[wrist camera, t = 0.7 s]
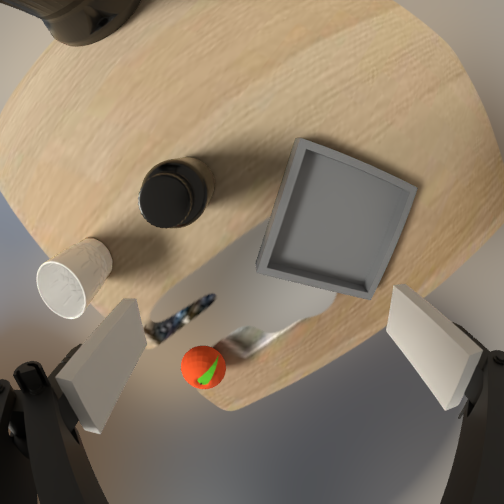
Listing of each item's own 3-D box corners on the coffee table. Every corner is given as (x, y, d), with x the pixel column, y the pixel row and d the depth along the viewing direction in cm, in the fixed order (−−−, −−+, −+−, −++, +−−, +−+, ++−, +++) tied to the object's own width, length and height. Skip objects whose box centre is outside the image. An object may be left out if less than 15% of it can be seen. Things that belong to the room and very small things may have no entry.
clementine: (200, 325, 41) (194, 356, 35) (238, 345, 43) (238, 377, 36) (177, 355, 44) (169, 386, 37) (213, 373, 45) (209, 404, 39)
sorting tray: (295, 138, 32) (300, 137, 29) (406, 184, 34) (417, 187, 32) (255, 263, 38) (256, 272, 35) (363, 290, 40) (370, 300, 37)
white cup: (85, 223, 35) (45, 248, 26) (125, 256, 37) (95, 290, 28) (66, 261, 37) (30, 291, 28) (103, 292, 39) (74, 329, 30)
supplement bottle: (216, 210, 35) (203, 242, 24) (163, 210, 35) (129, 241, 24) (216, 155, 33) (202, 160, 21) (161, 157, 32) (123, 164, 21)
